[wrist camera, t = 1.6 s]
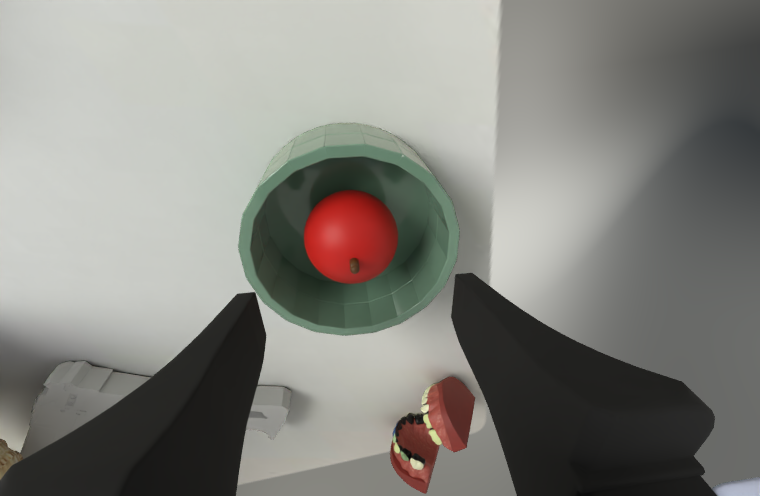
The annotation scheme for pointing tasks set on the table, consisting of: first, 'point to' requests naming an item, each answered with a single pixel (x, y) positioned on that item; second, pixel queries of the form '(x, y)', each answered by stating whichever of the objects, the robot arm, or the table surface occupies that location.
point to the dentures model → (432, 431)
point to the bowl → (322, 178)
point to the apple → (350, 236)
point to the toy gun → (105, 388)
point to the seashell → (7, 457)
